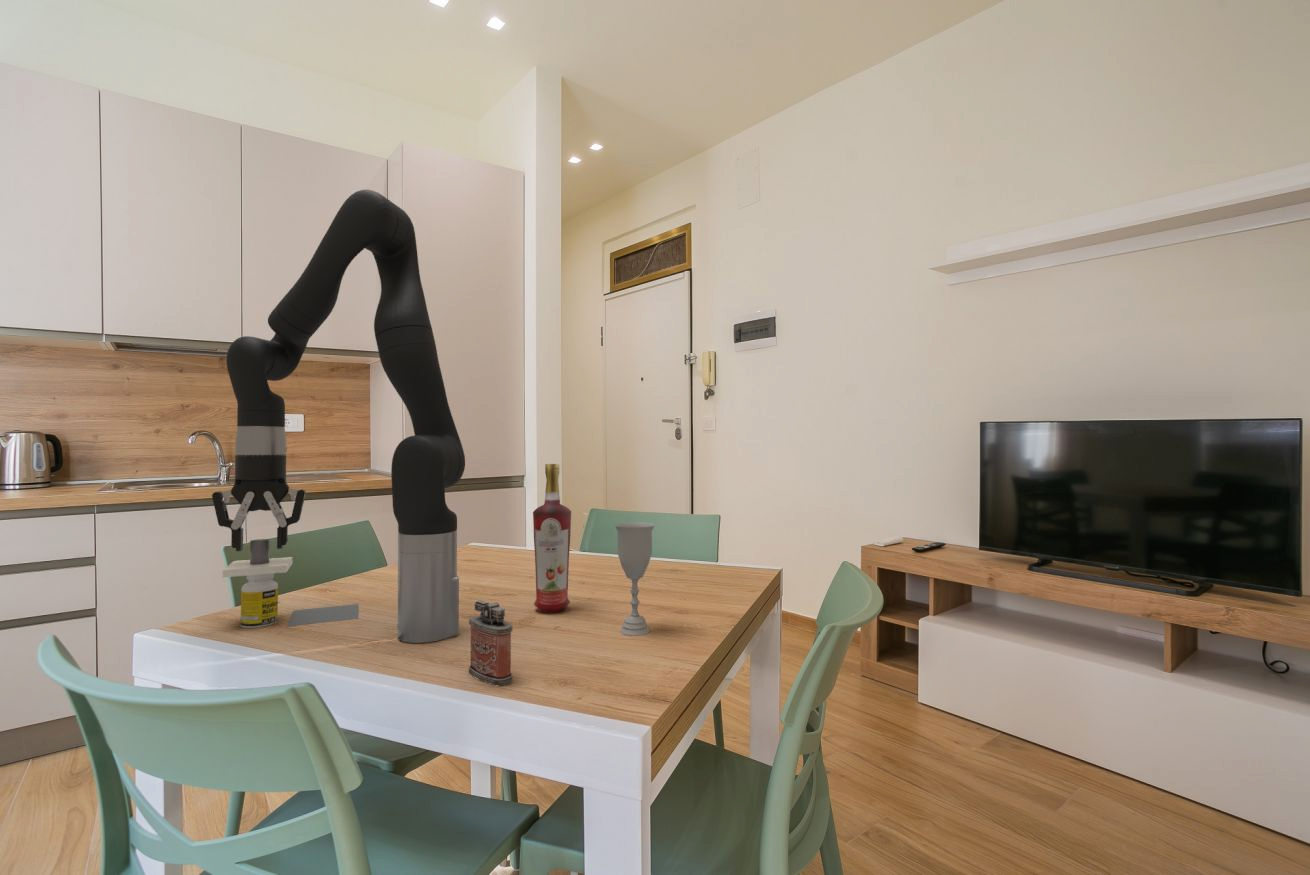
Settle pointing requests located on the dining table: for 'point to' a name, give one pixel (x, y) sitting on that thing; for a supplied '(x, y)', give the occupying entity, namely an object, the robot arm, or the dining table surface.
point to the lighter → (490, 644)
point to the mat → (323, 614)
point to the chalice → (634, 567)
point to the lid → (258, 562)
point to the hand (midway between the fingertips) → (260, 548)
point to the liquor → (552, 547)
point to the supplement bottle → (259, 601)
